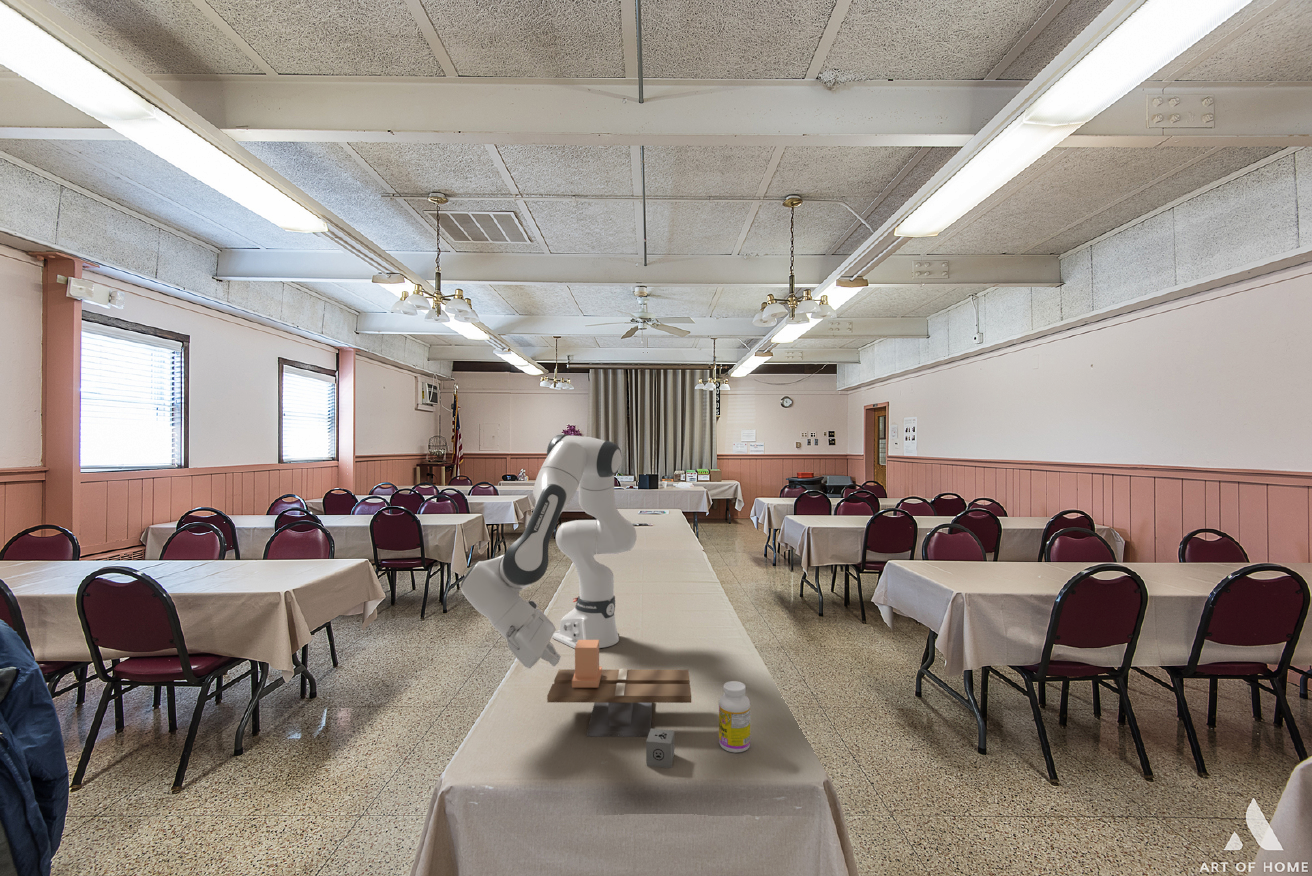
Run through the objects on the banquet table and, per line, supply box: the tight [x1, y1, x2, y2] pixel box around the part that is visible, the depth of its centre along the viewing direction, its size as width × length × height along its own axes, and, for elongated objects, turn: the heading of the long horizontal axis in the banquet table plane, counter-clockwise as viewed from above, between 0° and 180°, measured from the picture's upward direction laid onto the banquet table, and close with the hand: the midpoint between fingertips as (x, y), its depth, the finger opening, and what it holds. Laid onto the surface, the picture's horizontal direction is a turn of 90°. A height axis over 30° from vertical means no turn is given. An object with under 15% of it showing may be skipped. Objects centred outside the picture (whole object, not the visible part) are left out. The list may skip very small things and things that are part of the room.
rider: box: [572, 640, 603, 687], centre depth 132 cm, size 6×8×10 cm
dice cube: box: [645, 727, 675, 769], centre depth 115 cm, size 5×5×5 cm
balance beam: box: [546, 668, 692, 738], centre depth 132 cm, size 32×16×9 cm, turn 89°
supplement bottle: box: [718, 680, 751, 754], centre depth 121 cm, size 7×7×13 cm
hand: (557, 662), depth 132 cm, fingers closed
